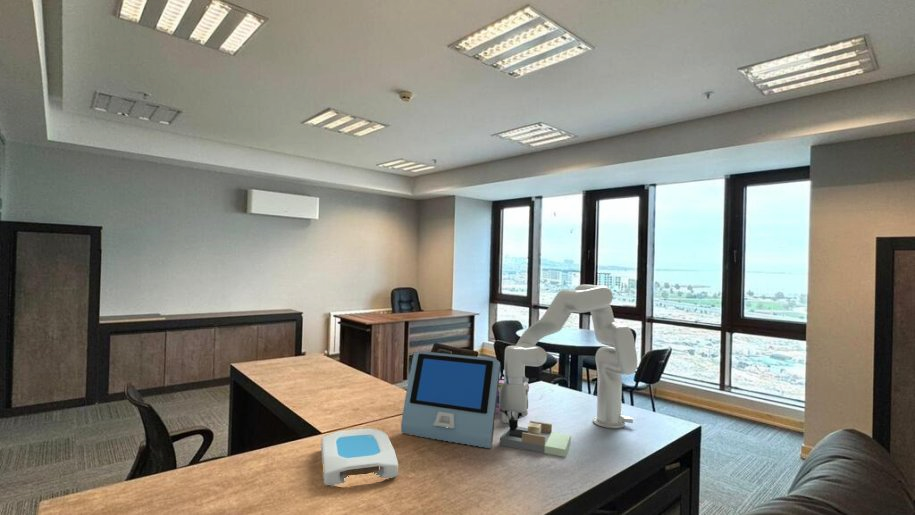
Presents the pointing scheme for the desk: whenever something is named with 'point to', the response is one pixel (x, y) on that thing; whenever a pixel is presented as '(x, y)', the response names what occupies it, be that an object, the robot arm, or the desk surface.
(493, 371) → the touchscreen device
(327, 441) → the white step stool
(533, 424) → the birch block
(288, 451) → the desk surface
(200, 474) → the desk surface
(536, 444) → the board
